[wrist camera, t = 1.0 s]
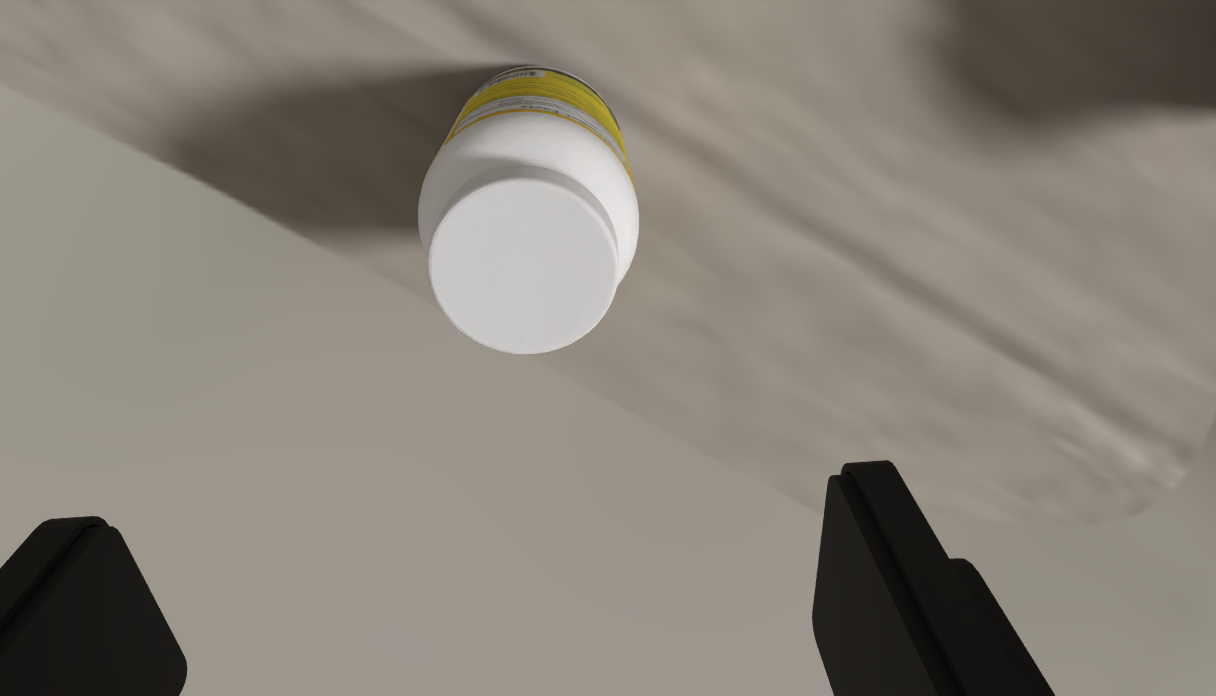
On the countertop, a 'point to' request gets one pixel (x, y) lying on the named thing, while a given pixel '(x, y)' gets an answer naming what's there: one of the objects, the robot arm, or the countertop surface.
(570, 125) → the pill bottle
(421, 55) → the countertop surface
